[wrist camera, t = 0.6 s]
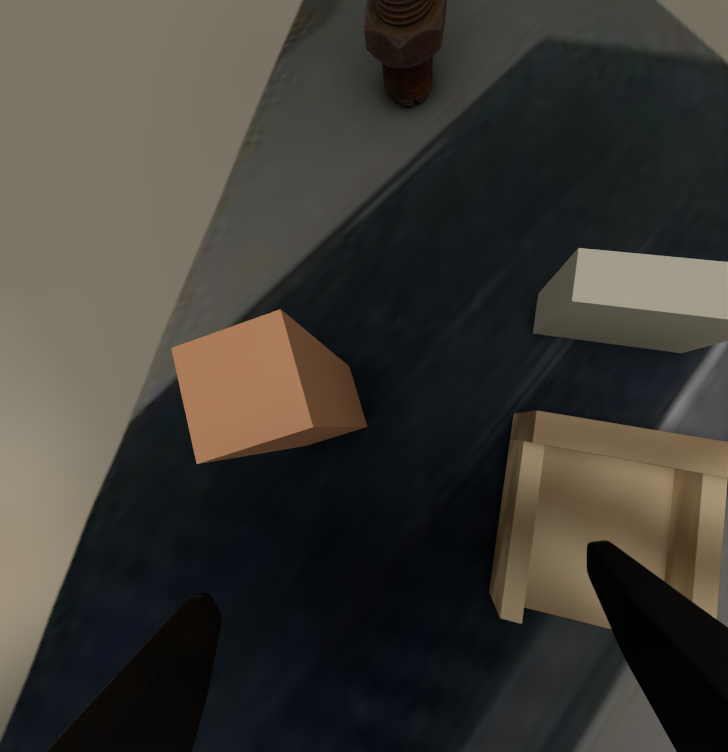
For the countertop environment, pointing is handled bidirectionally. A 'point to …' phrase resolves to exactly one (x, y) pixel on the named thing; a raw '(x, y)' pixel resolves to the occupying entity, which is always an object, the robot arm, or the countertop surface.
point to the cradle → (605, 512)
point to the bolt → (405, 43)
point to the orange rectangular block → (263, 389)
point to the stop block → (636, 301)
